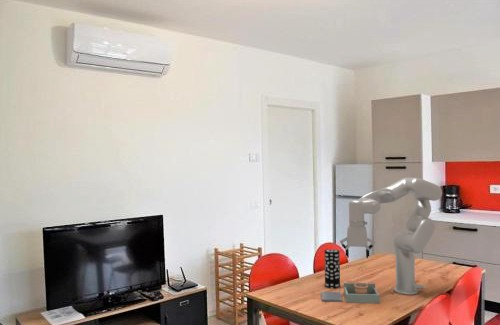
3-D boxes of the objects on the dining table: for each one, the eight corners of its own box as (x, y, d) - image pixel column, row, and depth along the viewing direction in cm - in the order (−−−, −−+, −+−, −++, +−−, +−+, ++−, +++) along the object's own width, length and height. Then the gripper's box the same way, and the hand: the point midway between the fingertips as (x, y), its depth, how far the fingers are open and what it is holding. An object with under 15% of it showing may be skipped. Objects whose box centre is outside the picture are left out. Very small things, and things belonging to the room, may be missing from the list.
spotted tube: (340, 284, 233) (339, 249, 233) (339, 289, 225) (339, 252, 225) (325, 283, 236) (325, 248, 236) (324, 288, 228) (323, 252, 228)
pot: (367, 296, 213) (366, 282, 212) (369, 301, 206) (369, 287, 206) (353, 296, 213) (353, 282, 213) (355, 300, 206) (354, 286, 206)
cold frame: (375, 294, 215) (374, 283, 215) (379, 303, 202) (379, 291, 202) (343, 294, 217) (343, 282, 217) (346, 302, 204) (346, 290, 204)
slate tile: (340, 294, 217) (340, 292, 217) (342, 301, 205) (342, 299, 205) (320, 293, 218) (320, 291, 218) (322, 301, 206) (321, 299, 206)
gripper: (373, 223, 213) (374, 256, 213) (339, 222, 216) (340, 255, 216) (375, 225, 205) (375, 259, 205) (339, 225, 209) (340, 258, 209)
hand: (357, 257), depth 211 cm, fingers open, 9 cm apart
